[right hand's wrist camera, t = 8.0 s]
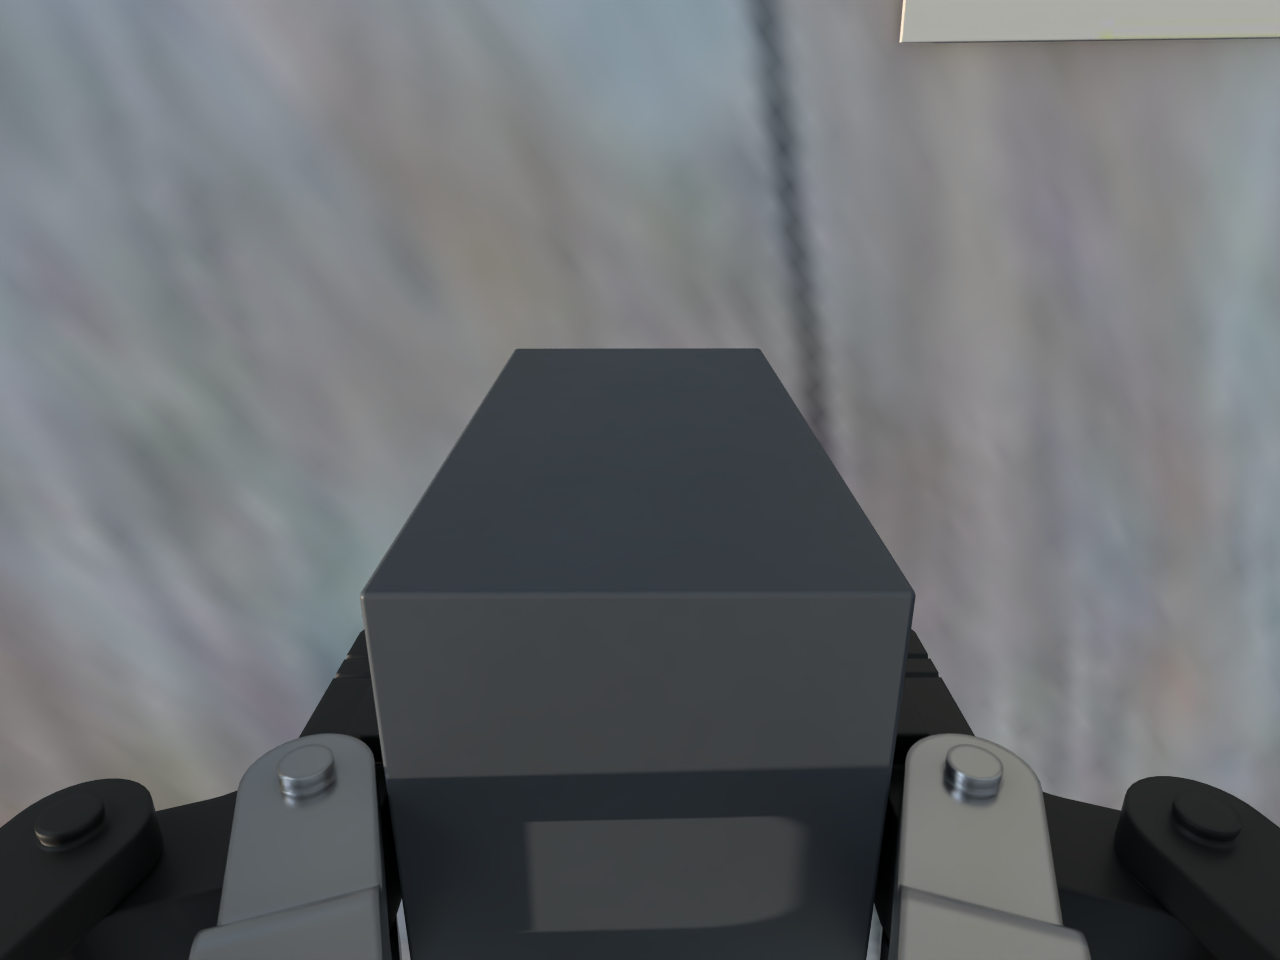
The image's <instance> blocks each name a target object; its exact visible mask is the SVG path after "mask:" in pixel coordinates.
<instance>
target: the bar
mask: <svg viewBox="0 0 1280 960" xmlns="http://www.w3.org/2000/svg"><path fill="white" fill-rule="evenodd" d="M360 600H361V607H362V615H363V622H364V629H365V636H366V643H367V650H368V658H369V665H370V672H371V679H372V686H373V693H374V701H375V708H376V715H377V722H378V729H379V736H380V744H381V751H382V758H383V765H384V772H385V779H386V787H387V794H388V801H389V808H390V815H391V822H392V829H393V837H394V844H395V851H396V858H397V865H398V872H399V880H400V887H401V894H402V901H403V908H404V915H405V923H406V930H407V937H408V944H409V951H410V958H411V960H866V957H867V949H868V942H869V935H870V927H871V920H872V912H873V905H874V898H875V890H876V883H877V876H878V868H879V861H880V854H881V846H882V839H883V831H884V824H885V817H886V809H887V802H888V795H889V787H890V780H891V773H892V765H893V758H894V750H895V743H896V736H897V728H898V721H899V714H900V706H901V699H902V692H903V684H904V677H905V669H906V662H907V655H908V647H909V640H910V633H911V625H912V618H913V610H914V603H915V593H914V590H913V589H912V587H911V586H910V584H909V582H908V581H907V579H906V578H905V576H904V575H903V573H902V571H901V570H900V568H899V567H898V565H897V564H896V562H895V560H894V559H893V557H892V556H891V554H890V553H889V551H888V549H887V548H886V546H885V545H884V543H883V542H882V540H881V538H880V537H879V535H878V534H877V532H876V531H875V529H874V527H873V526H872V524H871V523H870V521H869V520H868V518H867V516H866V515H865V513H864V512H863V510H862V509H861V507H860V505H859V504H858V502H857V501H856V499H855V498H854V496H853V494H852V493H851V491H850V490H849V488H848V487H847V485H846V483H845V482H844V480H843V479H842V477H841V476H840V474H839V472H838V471H837V469H836V468H835V466H834V465H833V463H832V461H831V460H830V458H829V457H828V455H827V454H826V452H825V450H824V449H823V447H822V446H821V444H820V443H819V441H818V439H817V438H816V436H815V435H814V433H813V432H812V430H811V428H810V427H809V425H808V424H807V422H806V421H805V419H804V417H803V416H802V414H801V413H800V411H799V410H798V408H797V406H796V405H795V403H794V402H793V400H792V399H791V397H790V395H789V394H788V392H787V391H786V389H785V388H784V386H783V384H782V383H781V381H780V380H779V378H778V377H777V375H776V373H775V372H774V370H773V369H772V367H771V366H770V364H769V362H768V361H767V359H766V358H765V356H764V355H763V353H762V351H761V350H760V349H516V350H515V351H514V353H513V354H512V356H511V357H510V359H509V360H508V362H507V364H506V365H505V367H504V368H503V370H502V371H501V373H500V375H499V376H498V378H497V379H496V381H495V382H494V384H493V386H492V387H491V389H490V390H489V392H488V394H487V395H486V397H485V398H484V400H483V401H482V403H481V405H480V406H479V408H478V409H477V411H476V412H475V414H474V416H473V417H472V419H471V420H470V422H469V423H468V425H467V427H466V428H465V430H464V431H463V433H462V434H461V436H460V438H459V439H458V441H457V442H456V444H455V446H454V447H453V449H452V450H451V452H450V453H449V455H448V457H447V458H446V460H445V461H444V463H443V464H442V466H441V468H440V469H439V471H438V472H437V474H436V475H435V477H434V479H433V480H432V482H431V483H430V485H429V486H428V488H427V490H426V491H425V493H424V494H423V496H422V498H421V499H420V501H419V502H418V504H417V505H416V507H415V509H414V510H413V512H412V513H411V515H410V516H409V518H408V520H407V521H406V523H405V524H404V526H403V527H402V529H401V531H400V532H399V534H398V535H397V537H396V539H395V540H394V542H393V543H392V545H391V546H390V548H389V550H388V551H387V553H386V554H385V556H384V557H383V559H382V561H381V562H380V564H379V565H378V567H377V568H376V570H375V572H374V573H373V575H372V576H371V578H370V579H369V581H368V583H367V584H366V586H365V587H364V589H363V591H362V592H361V595H360Z"/></svg>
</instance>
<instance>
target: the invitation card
mask: <svg viewBox="0 0 1280 960" xmlns="http://www.w3.org/2000/svg"><path fill="white" fill-rule="evenodd" d="M1215 38H1280V0H903V10H902V21H901V32H900V43H927V42H999V41H1071V40H1143V39H1215Z"/></svg>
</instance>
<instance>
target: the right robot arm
mask: <svg viewBox="0 0 1280 960" xmlns="http://www.w3.org/2000/svg"><path fill="white" fill-rule="evenodd" d="M401 899H402V894H401V887H400V880H399V872H398V865H397V858H396V851H395V844H394V837H393V829H392V822H391V815H390V808H389V801H388V794H387V787H386V779H385V772H384V765H383V758H382V751H381V744H380V736H379V729H378V722H377V715H376V708H375V701H374V693H373V686H372V679H371V672H370V665H369V658H368V650H367V643H366V636H365V629H364V630H363V631H362V632H360V634H359V636H358V637H357V639H356V641H355V642H354V644H353V646H352V648H351V649H350V651H349V653H348V654H347V660H344V661H343V663H342V665H341V666H340V668H339V670H338V672H337V673H336V678H333V680H332V682H331V684H330V685H329V687H328V689H327V690H326V692H325V694H324V696H323V697H322V699H321V701H320V702H319V704H318V706H317V707H316V709H315V711H314V713H313V714H312V716H311V718H310V719H309V721H308V723H307V725H306V726H305V728H304V730H303V731H302V733H301V735H300V737H299V738H297V739H294V740H292V741H289V742H286V743H284V744H282V745H280V746H277V747H276V748H274V749H272V750H270V751H269V752H267V753H266V754H264V755H263V756H262V757H260V758H259V759H258V760H257V761H255V762H254V763H253V764H252V765H251V766H250V767H249V769H248V770H247V771H246V772H245V774H244V775H243V777H242V779H241V781H240V784H239V787H238V790H237V791H235V792H232V793H229V794H227V795H224V796H220V797H217V798H213V799H209V800H205V801H200V802H196V803H191V804H187V805H182V806H178V807H174V808H169V809H165V810H160V811H156V812H155V808H154V804H153V801H152V797H151V795H150V792H149V791H148V790H147V789H146V788H145V787H144V786H143V785H141V784H139V783H137V782H134V781H131V780H126V779H101V780H94V781H89V782H84V783H81V784H77V785H74V786H71V787H68V788H65V789H63V790H60V791H58V792H55V793H53V794H51V795H49V796H47V797H45V798H43V799H41V800H39V801H38V802H36V803H34V804H32V805H31V806H29V807H28V808H26V809H25V810H23V811H22V812H21V813H19V814H18V815H16V816H15V817H14V818H13V819H11V820H10V821H9V822H7V823H6V824H5V825H3V826H2V827H1V828H0V960H402V954H401V942H400V935H399V928H398V921H397V912H398V908H399V905H400V902H401ZM874 904H875V907H876V910H877V913H878V916H879V920H880V923H881V925H882V928H881V935H880V942H879V953H878V960H1280V828H1279V827H1278V826H1277V825H1275V824H1274V823H1273V822H1271V821H1270V820H1269V819H1267V818H1266V817H1265V816H1264V815H1262V814H1261V813H1260V812H1258V811H1257V810H1255V809H1254V808H1253V807H1251V806H1250V805H1248V804H1247V803H1245V802H1244V801H1242V800H1240V799H1238V798H1237V797H1235V796H1233V795H1231V794H1229V793H1227V792H1225V791H1223V790H1221V789H1218V788H1215V787H1213V786H1210V785H1208V784H1204V783H1201V782H1198V781H1194V780H1190V779H1185V778H1180V777H1171V776H1156V777H1148V778H1145V779H1142V780H1139V781H1137V782H1135V783H1134V784H1132V785H1131V786H1130V788H1129V789H1128V790H1127V793H1126V795H1125V798H1124V802H1123V806H1122V810H1121V811H1120V810H1115V809H1111V808H1106V807H1102V806H1097V805H1093V804H1088V803H1084V802H1079V801H1075V800H1070V799H1066V798H1062V797H1058V796H1054V795H1051V794H1048V793H1045V792H1042V787H1041V784H1040V781H1039V779H1038V777H1037V775H1036V774H1035V772H1034V771H1033V770H1032V769H1031V767H1030V766H1029V765H1028V764H1027V763H1026V762H1025V761H1023V760H1022V759H1021V758H1020V757H1018V756H1017V755H1016V754H1014V753H1013V752H1011V751H1010V750H1008V749H1006V748H1004V747H1003V746H1000V745H998V744H996V743H994V742H991V741H988V740H986V739H983V738H979V737H975V735H974V734H973V732H972V730H971V728H970V727H969V725H968V723H967V721H966V720H965V718H964V716H963V715H962V713H961V711H960V709H959V708H958V706H957V704H956V702H955V701H954V699H953V697H952V695H951V694H950V692H949V690H948V688H947V687H946V685H945V683H944V682H943V680H942V678H939V676H938V671H937V669H936V668H935V666H934V664H933V662H932V661H931V659H928V654H927V652H926V650H925V649H924V647H923V645H922V643H921V642H920V640H919V638H918V636H917V635H916V633H915V632H914V631H913V630H912V629H911V633H910V640H909V647H908V655H907V662H906V669H905V677H904V684H903V692H902V699H901V706H900V714H899V721H898V728H897V736H896V743H895V750H894V758H893V765H892V773H891V780H890V787H889V795H888V802H887V809H886V817H885V824H884V831H883V839H882V846H881V854H880V861H879V868H878V876H877V883H876V890H875V898H874Z"/></svg>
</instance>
